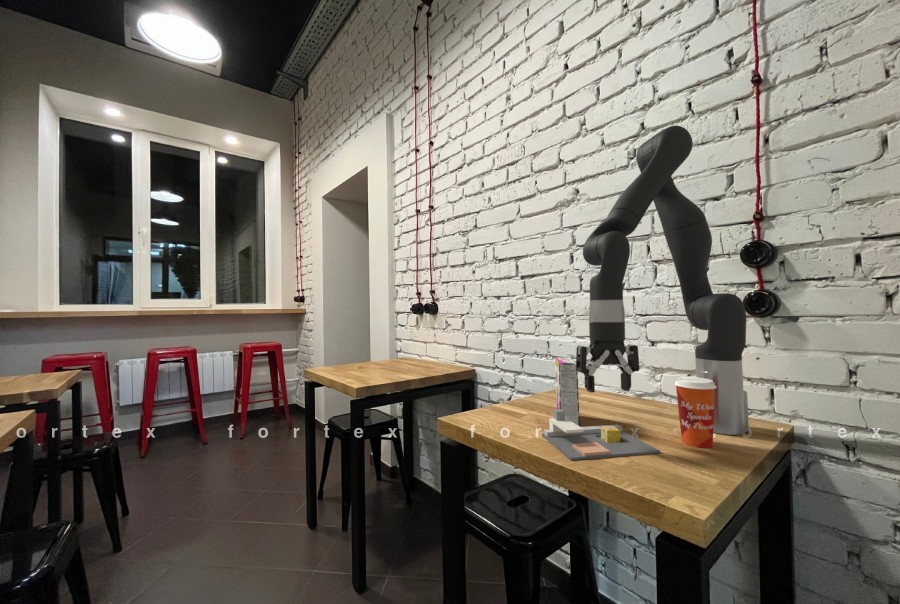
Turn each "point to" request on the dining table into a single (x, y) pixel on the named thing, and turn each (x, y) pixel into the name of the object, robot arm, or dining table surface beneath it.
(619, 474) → the dining table surface
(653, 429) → the dining table surface
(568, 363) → the candy bar box
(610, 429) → the alphabet block
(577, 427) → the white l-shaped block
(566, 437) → the puzzle board
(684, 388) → the paper cup
